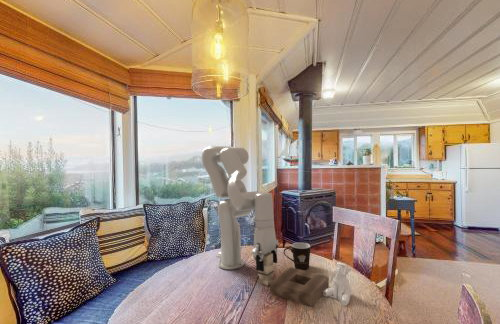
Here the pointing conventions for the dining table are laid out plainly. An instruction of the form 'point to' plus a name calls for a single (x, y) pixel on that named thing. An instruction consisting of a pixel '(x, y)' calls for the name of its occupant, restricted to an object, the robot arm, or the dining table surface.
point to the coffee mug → (300, 255)
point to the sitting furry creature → (340, 285)
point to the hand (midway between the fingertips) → (267, 266)
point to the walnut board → (300, 286)
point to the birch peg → (267, 269)
